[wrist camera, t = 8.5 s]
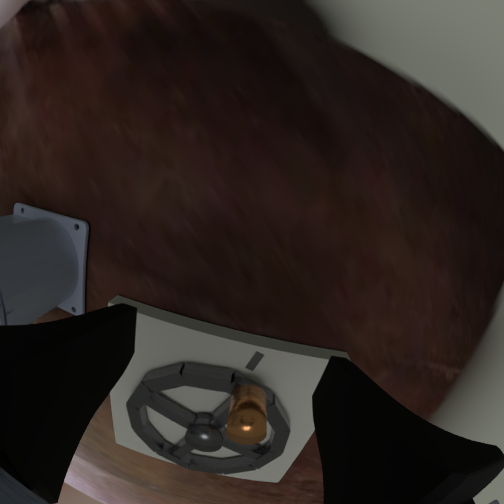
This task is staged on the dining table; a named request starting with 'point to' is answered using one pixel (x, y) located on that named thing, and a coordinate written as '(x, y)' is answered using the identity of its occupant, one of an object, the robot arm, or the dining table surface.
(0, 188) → the dining table surface
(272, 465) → the base plate
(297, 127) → the dining table surface
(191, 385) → the handwheel
